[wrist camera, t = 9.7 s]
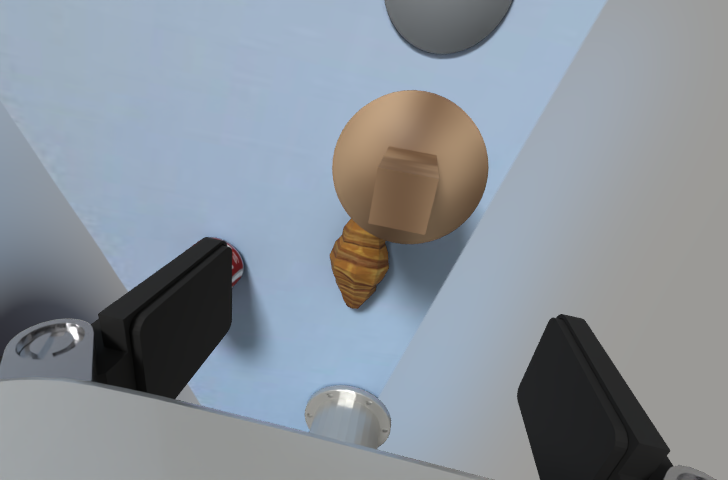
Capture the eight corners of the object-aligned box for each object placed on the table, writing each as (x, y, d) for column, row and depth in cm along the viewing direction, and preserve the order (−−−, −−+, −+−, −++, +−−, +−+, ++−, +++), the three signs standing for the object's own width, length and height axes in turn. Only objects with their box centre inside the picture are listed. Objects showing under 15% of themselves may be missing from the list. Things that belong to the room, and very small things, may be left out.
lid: (507, 105, 23) (536, 118, 17) (462, 251, 28) (472, 303, 22) (345, 77, 24) (316, 79, 18) (327, 223, 29) (299, 265, 22)
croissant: (341, 192, 41) (330, 207, 36) (402, 205, 40) (399, 222, 36) (327, 294, 46) (316, 318, 42) (380, 306, 46) (375, 331, 41)
